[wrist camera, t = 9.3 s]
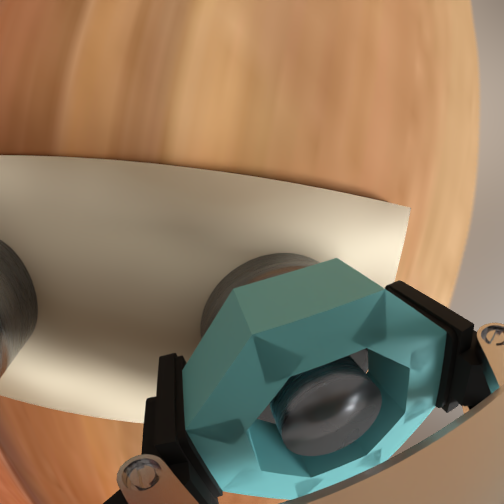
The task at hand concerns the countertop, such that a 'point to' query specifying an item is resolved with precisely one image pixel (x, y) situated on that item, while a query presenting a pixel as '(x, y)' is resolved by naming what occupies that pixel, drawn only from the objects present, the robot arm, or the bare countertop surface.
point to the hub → (308, 377)
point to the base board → (155, 264)
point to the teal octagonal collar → (298, 361)
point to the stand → (15, 306)
